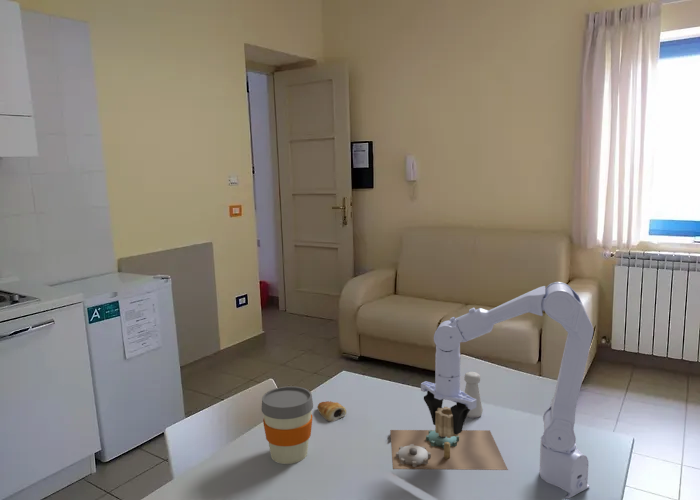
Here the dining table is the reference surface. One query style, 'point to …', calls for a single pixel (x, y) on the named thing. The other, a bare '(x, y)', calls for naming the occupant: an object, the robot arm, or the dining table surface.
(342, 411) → the pastry
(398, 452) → the gear board
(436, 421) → the wooden gear
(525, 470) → the dining table surface
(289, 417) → the reusable coffee cup
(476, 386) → the salt shaker
